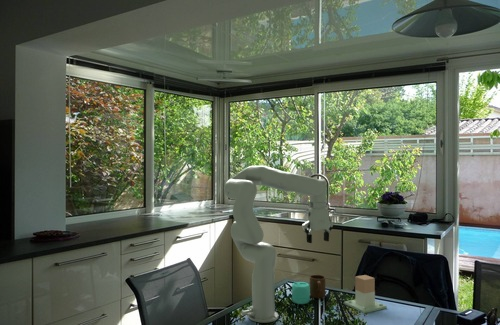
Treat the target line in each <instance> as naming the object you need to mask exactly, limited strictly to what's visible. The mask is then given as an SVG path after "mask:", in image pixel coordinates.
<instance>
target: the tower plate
mask: <svg viewBox="0 0 500 325" xmlns="http://www.w3.org/2000/svg"><path fill="white" fill-rule="evenodd" d="M354 291H355V293H354V295H355V297H354V298H355V299H352V300H346V301H344V302H343V304H344V305H345V306H348V307H351V308H352V309H353V310H357V311H358V312H361V313H363V314H368V313H373V312H375V311H380V310H385V309H387V305H386V304H383V303H380V302H378V301H376V291H375V292H370V293H365V294H364V293H362V292H360V291H357V290H355V289H354Z"/></svg>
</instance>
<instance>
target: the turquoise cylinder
mask: <svg viewBox="0 0 500 325" xmlns="http://www.w3.org/2000/svg"><path fill="white" fill-rule="evenodd" d="M291 286H292V287H291V288H292V289H291V290H292V291H291V294H292V296H291V301H292V302H293V303H294V304H298V305H305V304H306V305H307V304H308V303H310V298H311V296H310V283H308V282H305V281H296V282H293V283H292V285H291Z"/></svg>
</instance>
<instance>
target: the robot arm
mask: <svg viewBox="0 0 500 325" xmlns="http://www.w3.org/2000/svg"><path fill="white" fill-rule="evenodd" d="M257 186H262V187H265V188H271V189H273V190H278V191H283V192H292V193H296V194H297V195H300V196H309V203H308V204H307V206H308V207H309V208H308V209H307V210H308V211H307V218H306V220H307V221H305V222H304V223H302V225H301V227H302V229H303V232H304V233H305V234H306V242H307V243H309V244H312V243H313V235H312V233H313V231H324V232H323V241H325V242H329V241H330V233H331V230H332V229H333V226H334V222H332V221H330V214H329V209H328V208H327V181H326V179H321V178H320V179H319V178H313V177H309V176H306V175H301V174H298V173H297V174H296V173H293V172H288V171H284V170H282V169H281V170H280V169H277V168H274V167H269V166H266V165H250V166H248V167H246V168H244V169H242V170H241V171H240V172H238V173H236V174H235V175H234V176H232V177H231V178H229V179H228V180H227V181H226V183H225V184H224V186H223V192H224V194H225V196H226V197H227V198H229V199H230V200H234V203H233V205H232V206H233V207H232V217H233V219H234V221H233V222H232V224H231V227H230V236H231V238H232V241H233V243H234V245H235V246H236V248H237V250H238V252H239V254H240V256H241V257H242V258H243V259H244V260H245V261H247V262H250V263H253V264H254V266H253V269H252V274H251V305H250V306H249V308H248V309H246V310H242V311H241V312H240V313H241V316H242V317H243V316H247V317H248V318H249V320H250V321H252V322H255V323H259V324H260V323H261V324H263V323H264V324H265V323H266V324H267V323H273V322H276V321H277V320H278V319H279V313H278V312H277V311H276V307H275V304H276V302H275V295H276V294H275V269H276V263H277V250H276V248H275V247H274V246H273V245H272V244H271V243H268V242H267V241H263V240H264V231H263V230H264V229H263V228H262V226H261V223H260V222H259V220H258V218H257V216H256V214H255V211H254V208H253V207H254V203H255V202H254V201H255V199H256V196H257V193H258V188H257Z"/></svg>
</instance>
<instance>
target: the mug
mask: <svg viewBox="0 0 500 325" xmlns="http://www.w3.org/2000/svg"><path fill="white" fill-rule="evenodd" d="M309 287H310V298H313V299H323V298H326V277H325V276H324V275H321V274H312V275H310V276H309Z"/></svg>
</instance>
